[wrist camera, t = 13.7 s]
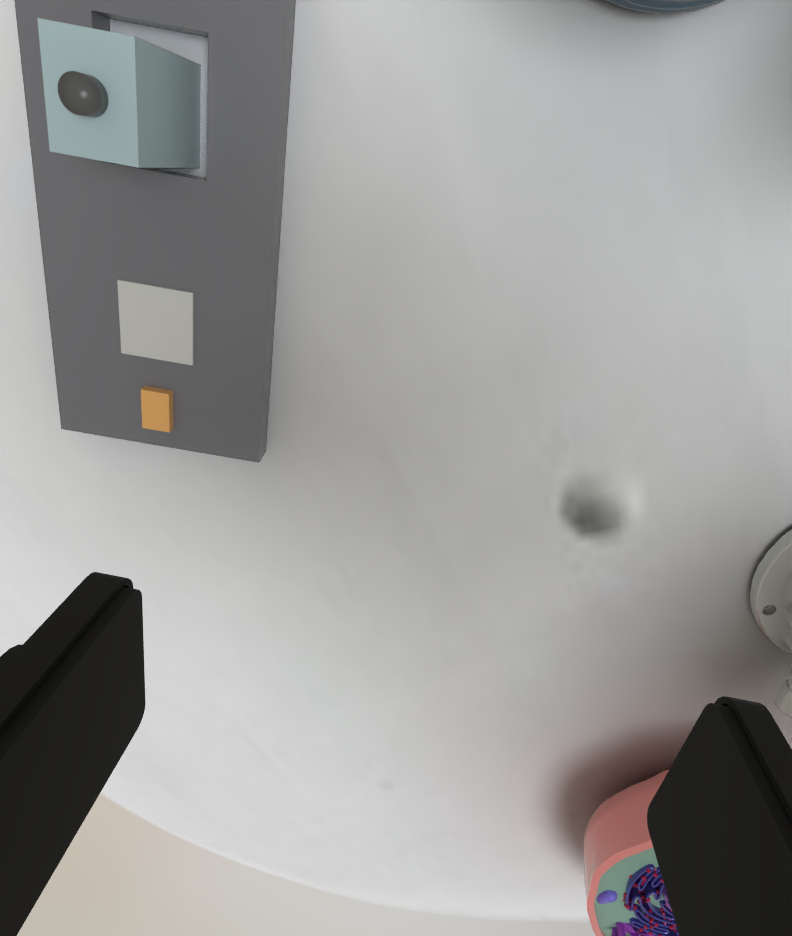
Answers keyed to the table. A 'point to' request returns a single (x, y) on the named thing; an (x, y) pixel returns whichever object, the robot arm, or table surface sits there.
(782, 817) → the robot arm
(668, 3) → the canister
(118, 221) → the outlet plate
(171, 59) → the block
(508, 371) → the table surface
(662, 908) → the cell model
